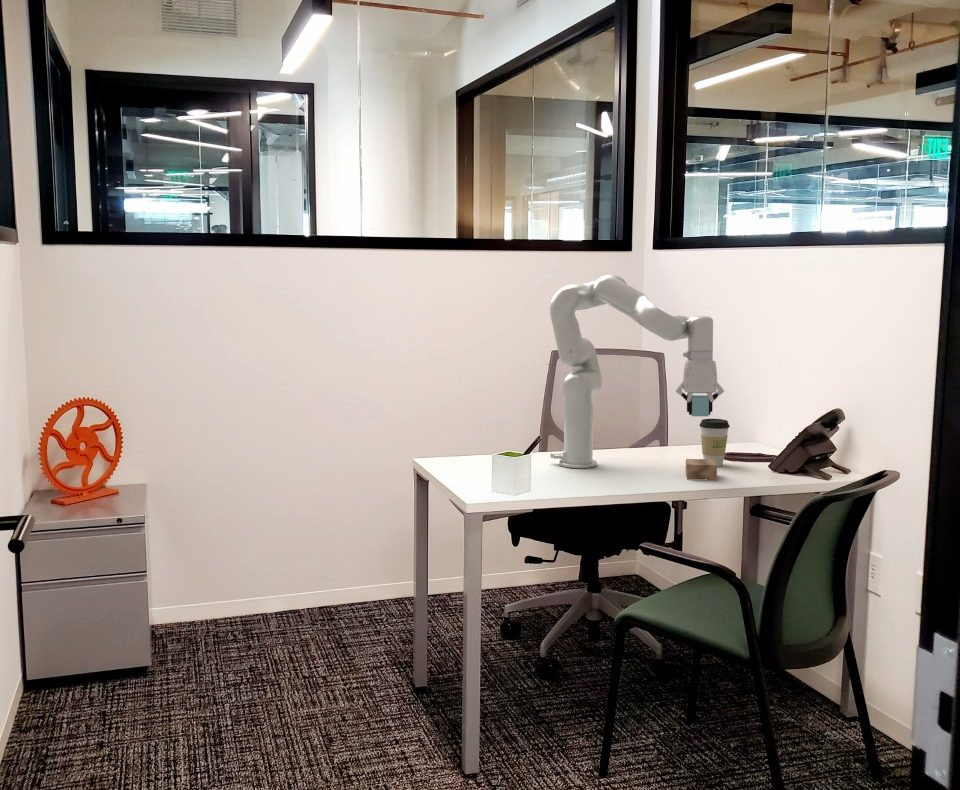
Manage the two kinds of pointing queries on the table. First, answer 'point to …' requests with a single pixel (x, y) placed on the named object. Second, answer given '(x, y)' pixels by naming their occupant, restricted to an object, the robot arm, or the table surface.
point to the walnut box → (701, 469)
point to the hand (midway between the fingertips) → (699, 413)
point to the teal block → (700, 405)
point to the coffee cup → (714, 439)
